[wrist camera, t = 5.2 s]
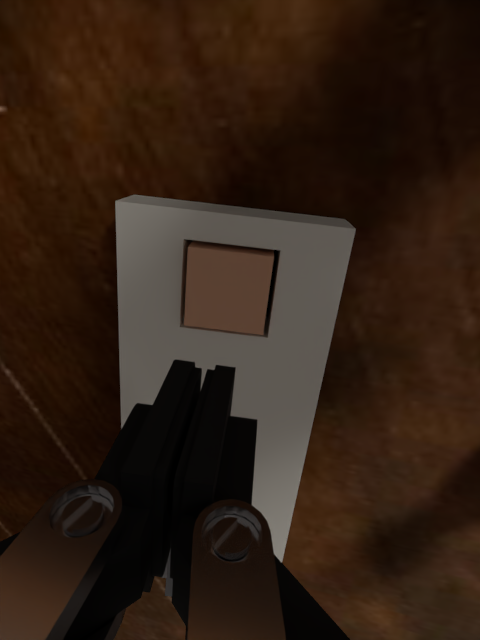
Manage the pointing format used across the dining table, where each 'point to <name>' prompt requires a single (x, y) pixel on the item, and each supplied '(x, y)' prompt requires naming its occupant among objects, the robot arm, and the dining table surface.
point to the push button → (227, 286)
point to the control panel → (228, 346)
